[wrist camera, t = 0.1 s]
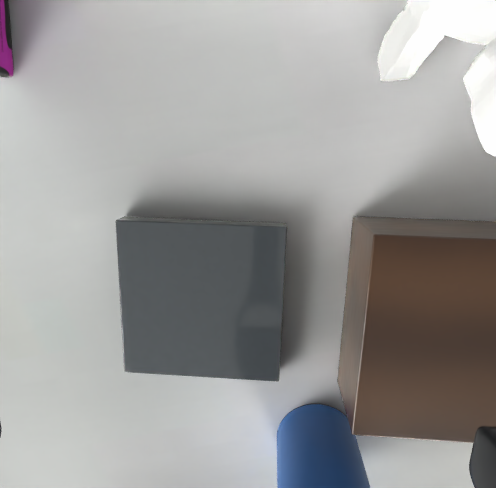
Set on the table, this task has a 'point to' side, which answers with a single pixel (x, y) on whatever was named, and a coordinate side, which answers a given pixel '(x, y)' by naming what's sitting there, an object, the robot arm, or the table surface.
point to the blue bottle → (318, 450)
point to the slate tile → (201, 296)
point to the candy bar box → (5, 41)
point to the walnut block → (420, 328)
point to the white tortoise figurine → (426, 39)
